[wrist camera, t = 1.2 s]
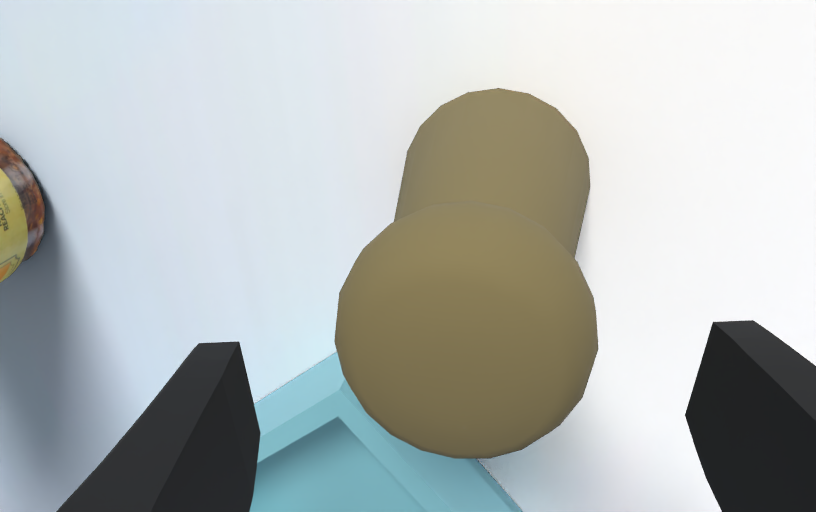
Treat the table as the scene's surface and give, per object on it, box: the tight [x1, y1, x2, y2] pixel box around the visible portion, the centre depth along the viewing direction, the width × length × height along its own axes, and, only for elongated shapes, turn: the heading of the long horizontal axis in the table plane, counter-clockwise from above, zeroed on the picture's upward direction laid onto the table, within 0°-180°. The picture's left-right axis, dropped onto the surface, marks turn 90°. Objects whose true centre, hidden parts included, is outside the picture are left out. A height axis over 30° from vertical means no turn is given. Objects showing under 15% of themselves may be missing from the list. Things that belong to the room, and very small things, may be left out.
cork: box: [335, 88, 598, 459], centre depth 17 cm, size 6×6×11 cm
